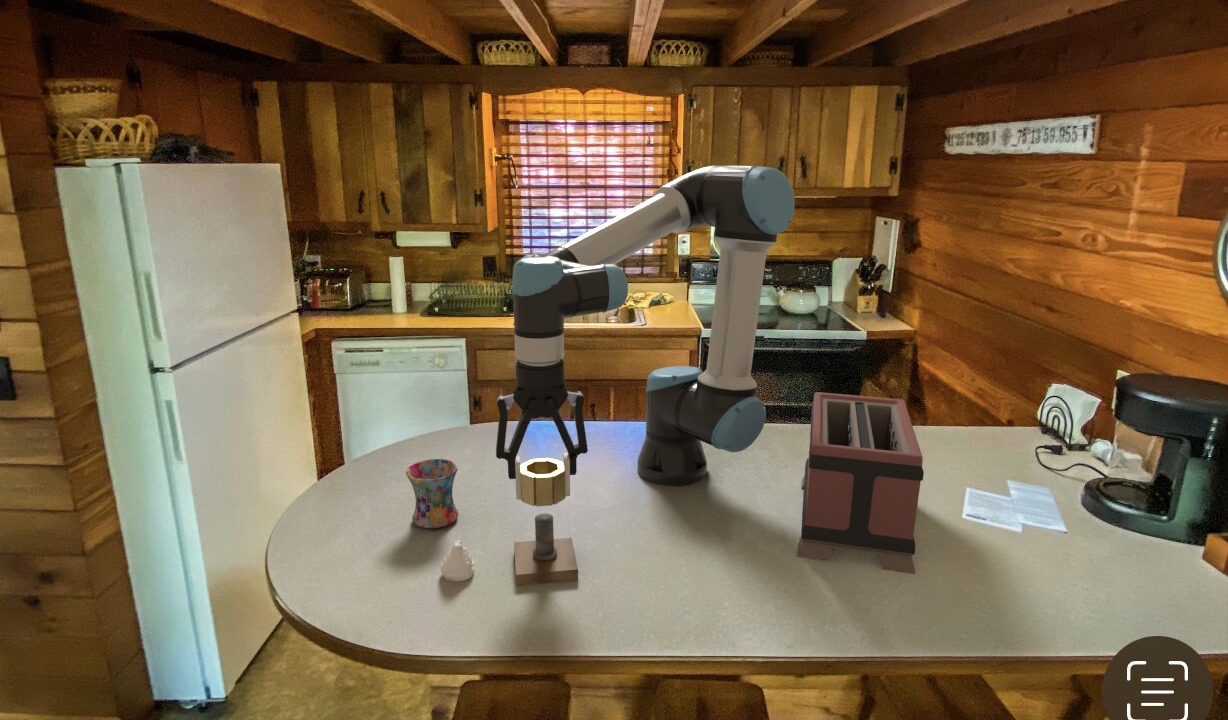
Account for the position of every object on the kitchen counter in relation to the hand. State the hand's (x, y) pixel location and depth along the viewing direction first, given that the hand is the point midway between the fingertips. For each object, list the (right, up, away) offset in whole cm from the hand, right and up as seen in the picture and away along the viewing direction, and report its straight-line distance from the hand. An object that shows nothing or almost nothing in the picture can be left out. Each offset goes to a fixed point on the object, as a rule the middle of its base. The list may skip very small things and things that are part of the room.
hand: (542, 493), depth 117 cm
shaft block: (0, -13, +4) cm, 13 cm away
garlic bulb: (-14, -14, +2) cm, 20 cm away
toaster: (+57, -9, +20) cm, 61 cm away
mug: (-22, -8, +20) cm, 31 cm away
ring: (0, 0, 0) cm, 0 cm away
